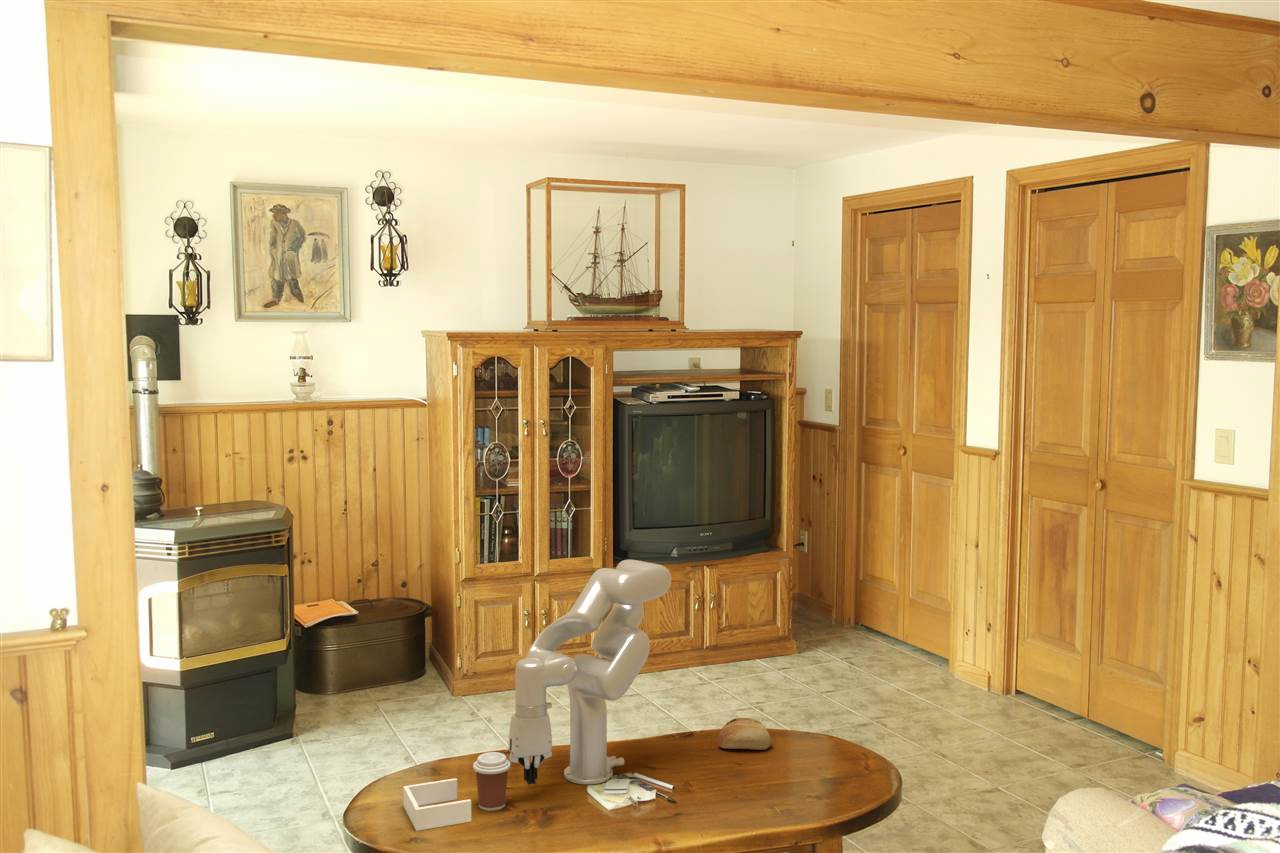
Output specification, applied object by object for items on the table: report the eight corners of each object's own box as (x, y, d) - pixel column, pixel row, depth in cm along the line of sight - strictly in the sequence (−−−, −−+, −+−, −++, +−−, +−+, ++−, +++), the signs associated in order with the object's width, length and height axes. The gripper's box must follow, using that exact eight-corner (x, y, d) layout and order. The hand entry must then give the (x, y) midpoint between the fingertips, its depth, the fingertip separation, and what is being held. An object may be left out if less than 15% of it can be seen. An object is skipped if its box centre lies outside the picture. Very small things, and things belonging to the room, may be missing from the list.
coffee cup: (496, 816, 262) (495, 767, 261) (465, 808, 267) (465, 759, 266) (518, 802, 270) (518, 754, 269) (488, 794, 275) (488, 747, 274)
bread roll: (714, 742, 311) (715, 714, 311) (767, 741, 312) (767, 713, 312) (719, 755, 302) (720, 726, 301) (773, 753, 303) (774, 725, 302)
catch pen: (456, 797, 272) (456, 778, 272) (471, 821, 259) (471, 800, 259) (403, 806, 267) (403, 786, 267) (416, 830, 254) (415, 809, 254)
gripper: (554, 701, 277) (554, 772, 278) (497, 708, 271) (496, 781, 272) (564, 710, 270) (564, 783, 271) (505, 718, 264) (505, 792, 265)
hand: (530, 782), depth 272 cm, fingers closed
